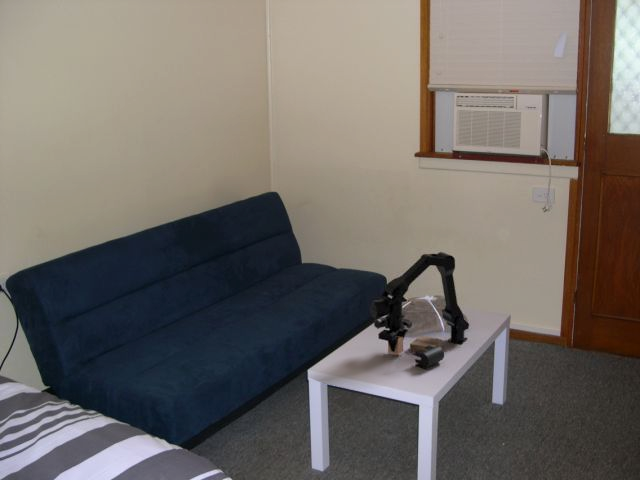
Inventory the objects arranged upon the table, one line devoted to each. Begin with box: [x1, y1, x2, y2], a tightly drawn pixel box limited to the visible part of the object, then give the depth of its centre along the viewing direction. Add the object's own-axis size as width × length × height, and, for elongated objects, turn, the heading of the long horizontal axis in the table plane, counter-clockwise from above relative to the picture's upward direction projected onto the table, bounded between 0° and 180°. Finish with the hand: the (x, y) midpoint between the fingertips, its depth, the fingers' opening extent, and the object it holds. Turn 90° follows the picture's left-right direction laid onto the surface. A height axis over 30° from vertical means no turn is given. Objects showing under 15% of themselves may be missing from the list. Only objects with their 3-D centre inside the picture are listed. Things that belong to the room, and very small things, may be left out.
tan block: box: [409, 335, 443, 353], centre depth 316 cm, size 10×10×3 cm
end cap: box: [414, 346, 445, 370], centre depth 300 cm, size 10×7×7 cm
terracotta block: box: [387, 336, 404, 355], centre depth 310 cm, size 4×4×6 cm
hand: (395, 349), depth 310 cm, fingers closed on terracotta block, 4 cm apart
